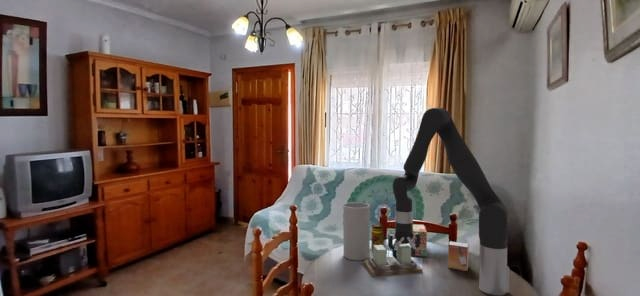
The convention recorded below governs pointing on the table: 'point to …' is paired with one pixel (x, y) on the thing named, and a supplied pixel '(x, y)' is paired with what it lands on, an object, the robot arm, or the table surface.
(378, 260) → the block
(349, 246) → the cylinder vase
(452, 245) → the small box
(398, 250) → the loose block
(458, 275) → the table surface
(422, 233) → the stack of blocks
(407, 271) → the tray
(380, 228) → the condiment
